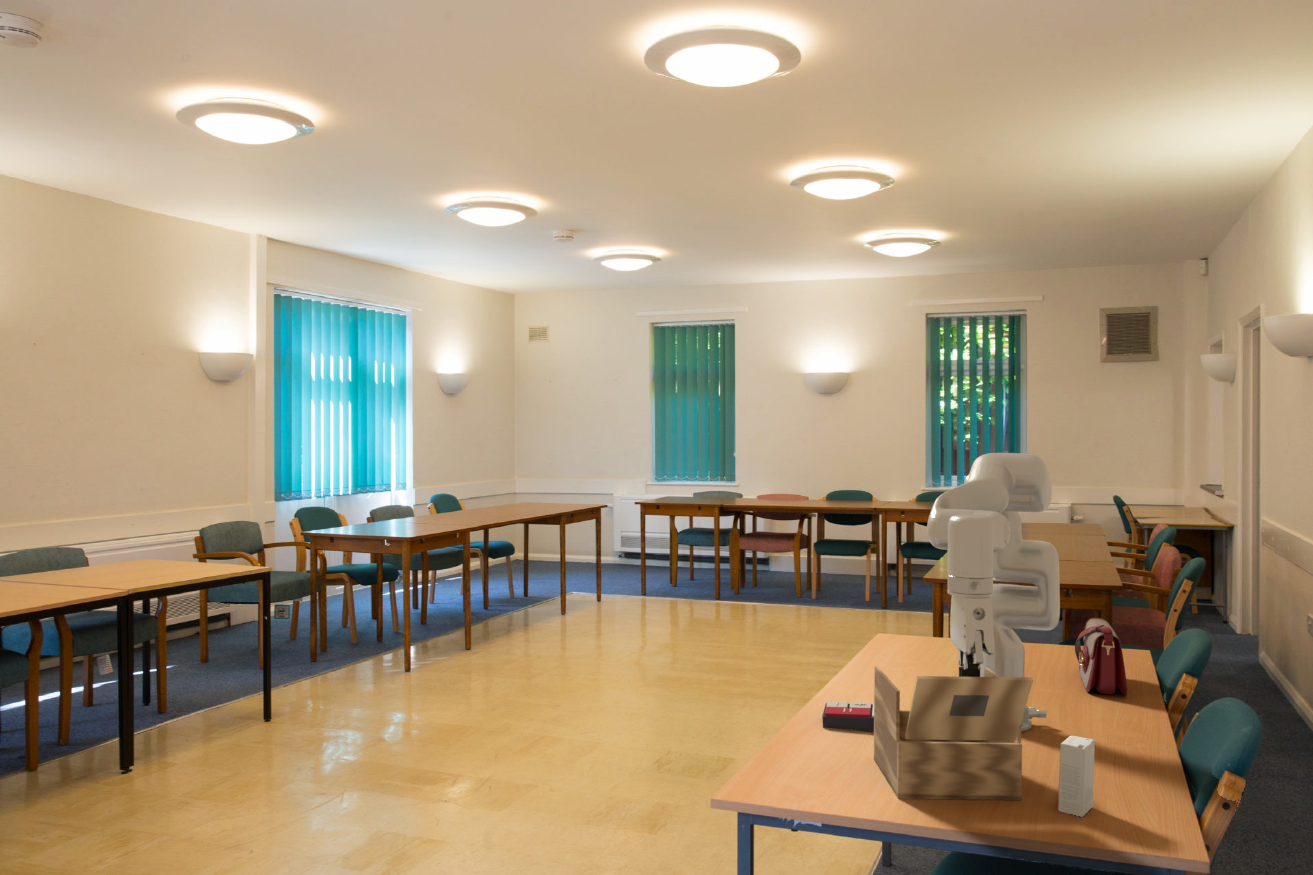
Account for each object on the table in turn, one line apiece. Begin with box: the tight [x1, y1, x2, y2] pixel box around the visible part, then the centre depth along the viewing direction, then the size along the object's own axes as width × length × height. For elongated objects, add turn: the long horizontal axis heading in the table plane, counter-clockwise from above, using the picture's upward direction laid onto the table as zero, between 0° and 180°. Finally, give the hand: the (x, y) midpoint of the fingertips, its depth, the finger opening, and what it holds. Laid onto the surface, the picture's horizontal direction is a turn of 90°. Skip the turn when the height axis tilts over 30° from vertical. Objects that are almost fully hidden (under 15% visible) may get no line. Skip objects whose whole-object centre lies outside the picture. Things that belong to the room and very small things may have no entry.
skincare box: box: [1057, 735, 1096, 818], centre depth 161 cm, size 6×4×12 cm
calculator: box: [822, 700, 874, 733], centre depth 209 cm, size 11×4×15 cm
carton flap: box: [905, 675, 1034, 741], centre depth 162 cm, size 20×15×1 cm
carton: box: [873, 665, 1023, 801], centre depth 175 cm, size 22×20×19 cm
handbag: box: [1074, 617, 1128, 697], centre depth 243 cm, size 28×11×17 cm, turn 160°
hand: (969, 690), depth 161 cm, fingers closed
